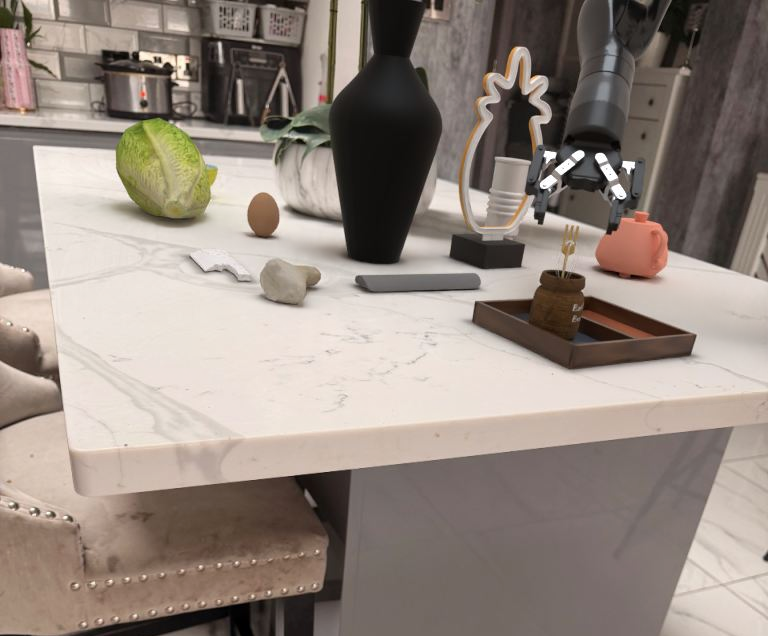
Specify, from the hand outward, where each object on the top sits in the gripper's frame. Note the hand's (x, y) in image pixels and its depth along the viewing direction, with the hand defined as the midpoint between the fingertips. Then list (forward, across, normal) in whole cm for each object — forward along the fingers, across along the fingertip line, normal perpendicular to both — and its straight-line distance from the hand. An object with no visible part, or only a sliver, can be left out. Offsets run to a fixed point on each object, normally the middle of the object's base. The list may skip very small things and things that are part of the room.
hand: (575, 225), depth 95 cm
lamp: (-15, -14, +32) cm, 37 cm away
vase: (-7, -30, +24) cm, 39 cm away
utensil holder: (+15, 0, +1) cm, 15 cm away
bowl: (-30, -79, +47) cm, 97 cm away
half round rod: (+4, -20, +13) cm, 24 cm away
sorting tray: (+13, +3, +4) cm, 14 cm away
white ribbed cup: (-30, -14, +47) cm, 57 cm away
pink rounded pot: (-21, +11, +38) cm, 45 cm away
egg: (-9, -51, +26) cm, 58 cm away
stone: (+15, -33, +2) cm, 36 cm away
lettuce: (-13, -72, +30) cm, 78 cm away
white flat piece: (+10, -47, +7) cm, 48 cm away
